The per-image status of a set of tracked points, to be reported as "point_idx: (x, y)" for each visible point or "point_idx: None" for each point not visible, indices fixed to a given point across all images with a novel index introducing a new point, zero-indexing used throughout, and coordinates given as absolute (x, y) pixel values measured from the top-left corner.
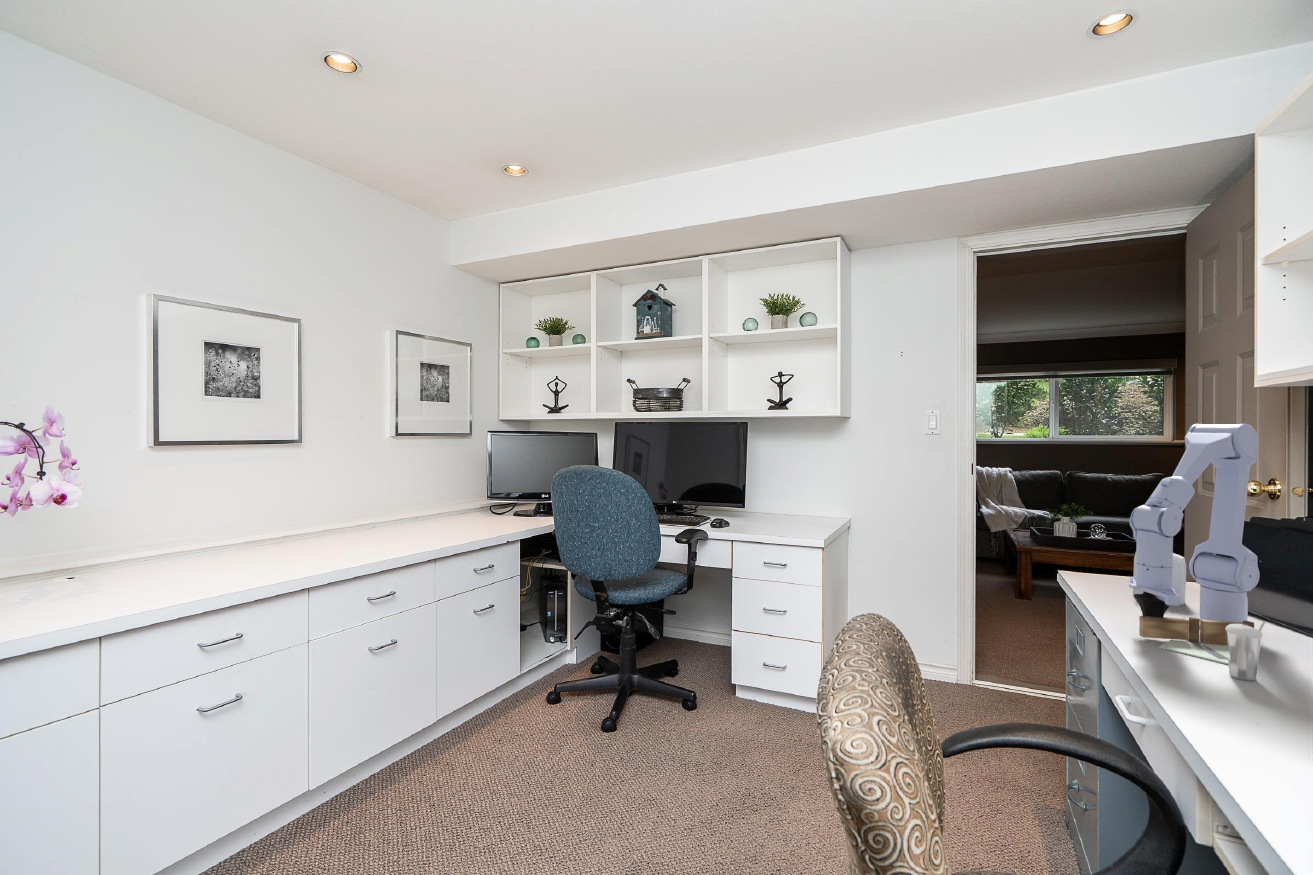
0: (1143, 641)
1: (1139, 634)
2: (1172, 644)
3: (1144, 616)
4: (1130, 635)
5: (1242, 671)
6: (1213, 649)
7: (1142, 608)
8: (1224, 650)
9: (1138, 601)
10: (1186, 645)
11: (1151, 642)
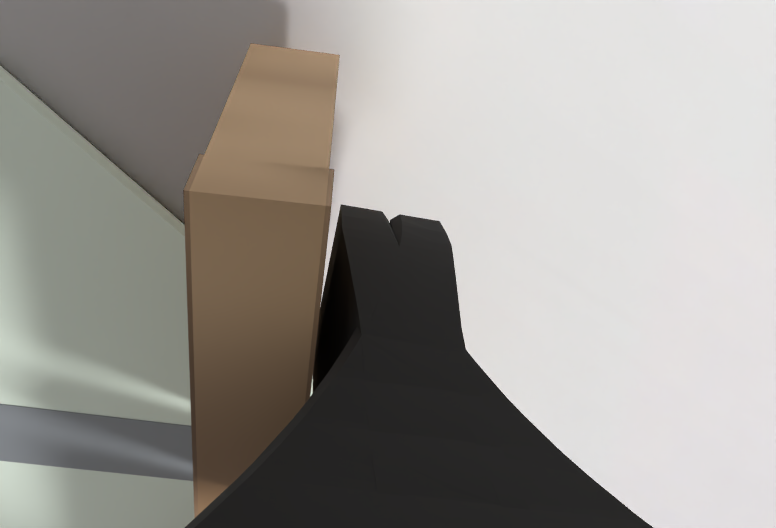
0: (235, 20)
1: (332, 57)
2: (125, 254)
3: (303, 273)
4: (474, 11)
5: None
6: (80, 473)
7: (419, 398)
8: (81, 519)
9: (551, 504)
10: (133, 355)
11: (213, 99)
